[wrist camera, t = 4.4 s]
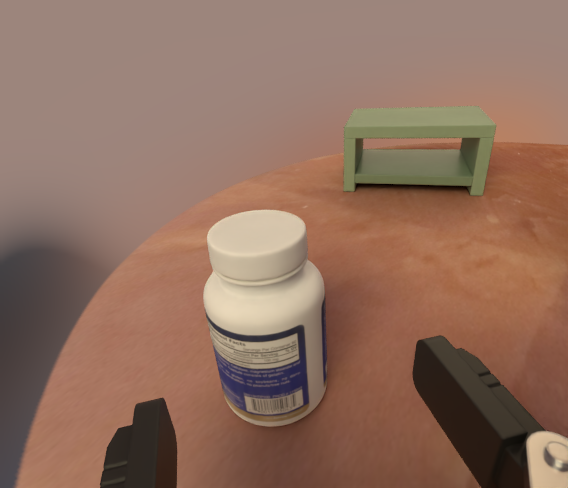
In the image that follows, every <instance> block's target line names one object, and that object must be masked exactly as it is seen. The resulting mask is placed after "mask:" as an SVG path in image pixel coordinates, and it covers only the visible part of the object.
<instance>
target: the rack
mask: <svg viewBox="0 0 568 488" xmlns="http://www.w3.org/2000/svg"><path fill="white" fill-rule="evenodd" d="M495 130H496V124H495V123H494V122H493V121H492V120H491V119H490V118H489V117H488V116H487V115H486V114H485V113H484V112H483V111H482V110H481V109H480V107H479V106H462V107H461V106H458V107H421V108H418V107H417V108H378V109H377V108H376V109H354V111H353V113H352V114H351V116H350V118H349V120H348V122H347V123H346V125H345V127H344V191H349V192H354V191H355V188H356V184H357V183H374V184H413V185H451V186H467V189H468V191H469V194H470V195H475V196H483V192H484V187H485V181H486V176H487V171H488V166H489V161H490V156H491V151H492V145H493V140H494V135H495ZM363 138H462V143H461V149H460V150H425V149H363Z"/></svg>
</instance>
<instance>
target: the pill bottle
mask: <svg viewBox="0 0 568 488" xmlns="http://www.w3.org/2000/svg"><path fill="white" fill-rule="evenodd" d="M207 243H208V249H209V256H210V262H211V265H212V268H213V273H212V274H211V276H210V277H209V279H208V280H207V282H206V285H205V288H204V295H203V298H204V306H205V311H206V317H207V321H208V325H209V330H210V334H211V339H212V342H213V347H214V352H215V356H216V361H217V365H218V370H219V374H220V379H221V383H222V388H223V392H224V396H225V399H226V401H227V403H228V405H229V407H230V408H231V409H232V410H233V412H234V413H235V414H237V415H238V416H239V417H240V418H242V419H243V420H245V421H247V422H250V423H252V424H255V425H260V426H268V427H273V426H283V425H287V424H290V423H293V422H296V421H298V420H300V419H302V418H303V417H305V416H306V415H308V414H309V413H310V412H312V411H313V410H314V409H315V408H316V407H317V405H318V404H319V403H320V401H321V399H322V398H323V395H324V393H325V390H326V386H327V346H326V310H325V288H324V282H323V278H322V276H321V273H320V272H319V270H318V269H317V267H316V266H315V265H314V264H313V263H311V262H310V261H309V260H307V259H308V253H307V252H308V245H307V232H306V226H305V224H304V222H303V221H302V220H301V219H300V218H299V217H297V216H296V215H293V214H291V213H288V212H284V211H278V210H254V211H247V212H242V213H238V214H234V215H232V216H229V217H226V218H224V219H222V220H220V221H219V222H217V223H216V224H215V225H214V226H213V227H212V228H211V229H210V230H209V232H208V235H207Z"/></svg>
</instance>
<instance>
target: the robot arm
mask: <svg viewBox="0 0 568 488" xmlns="http://www.w3.org/2000/svg"><path fill="white" fill-rule="evenodd" d="M413 380H414V384H415V387H416V389H417V391H418V393H419V395H420V396H421V398H422V399H423V401H424V402H425V404H426V405H427V407H428V408H429V410H430V411H431V413H432V414H433V416H434V417H435V419H436V420H437V422H438V423H439V425H440V426H441V428H442V429H443V431H444V432H445V434H446V435H447V437H448V438H449V440H450V441H451V443H452V444H453V446H454V447H455V449H456V450H457V452H458V453H459V455H460V456H461V458H462V459H463V461H464V462H465V464H466V465H467V467H468V468H469V470H470V471H471V473H472V474H473V476H474V477H475V479H476V480H477V482H478V483H479V485H480V486H481V488H568V438H566V437H564V436H562V435H560V434H557V433H554V432H549V431H546V430H545V429H544V428H542V427H541V426H540V425H539V423H538V422H537V421H536V420H535V419H534V418H533V417H532V416H531V415H530V414H529V413H528V412H527V411H526V409H525V408H524V407H523V406H522V405H521V404H520V403H519V402H518V401H517V400H516V399H515V398H514V396H513V395H512V394H511V393H510V392H509V391H508V390H507V389H506V388H505V387H504V386H503V385H501V384H500V381H499V380H498V379H497V378H496V377H495V376H494V375H493V374H491V373H490V371H489V370H488V368H487V367H486V366H485V365H484V364H483V363H482V362H481V361H480V360H479V359H478V358H477V357H475V356H474V355H472V354H470V353H469V352H467V351H465V350H464V349H462V348H460V349H455V348H454V347H453V346H452V345H451V344H450V343H449V341H448V340H447V339H446V338H445V337H443V336H435V337H431V338H426V339H422V340H419V341H418V342H417V344H416V351H415V359H414V367H413ZM103 468H104V471H103V472H102V477H101V483H100V485H101V487H100V488H177V442H176V435H175V430H174V427H173V424H172V421H171V418H170V415H169V412H168V409H167V406H166V402H165V400H164V398H159V399H155V400H151V401H146V402H142V403H138V404H136V406H135V410H134V417H133V424H132V425H130V426H126V427H122V428H118V430H117V431H116V433H115V435H114V437H113V438H112V440H111V442H110V443H109V445H108V447H107V451H106V456H105V462H104V467H103Z"/></svg>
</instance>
